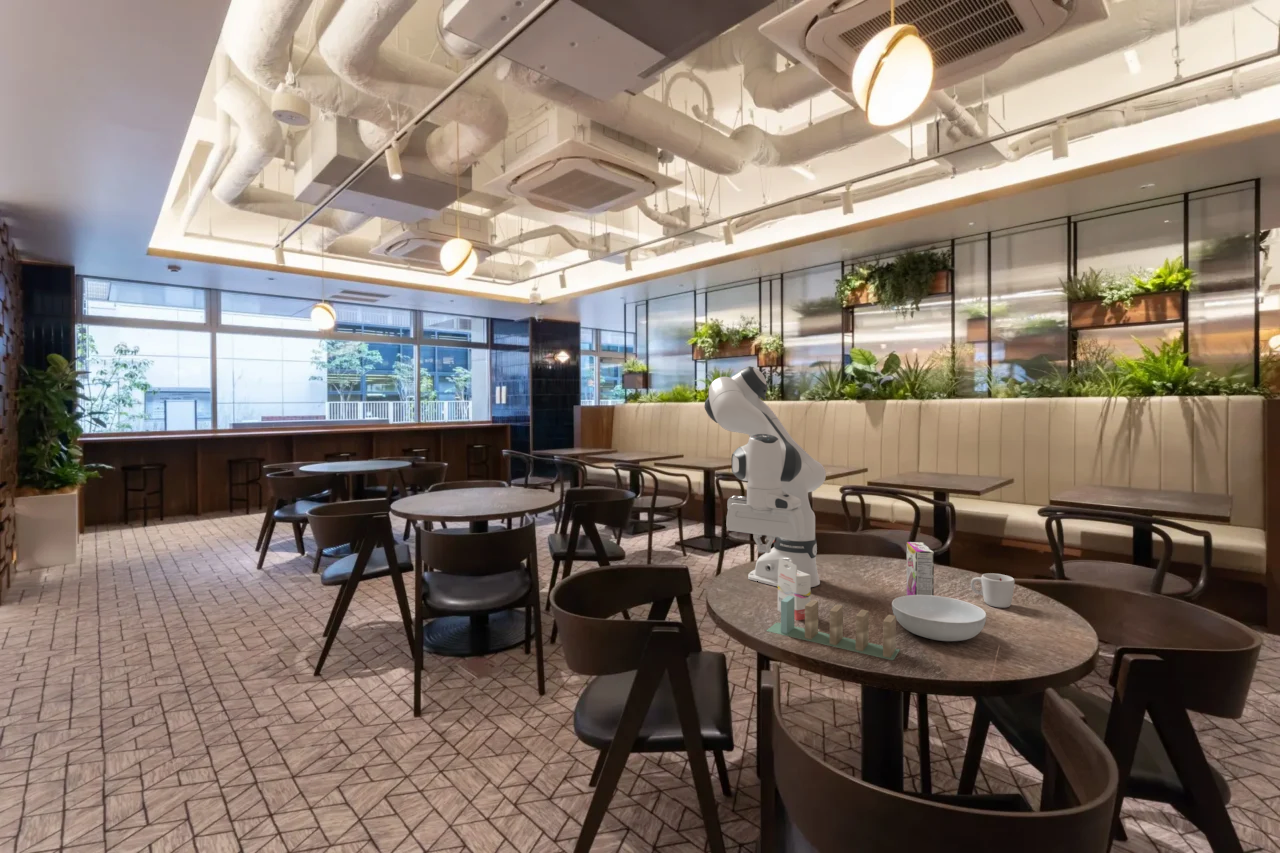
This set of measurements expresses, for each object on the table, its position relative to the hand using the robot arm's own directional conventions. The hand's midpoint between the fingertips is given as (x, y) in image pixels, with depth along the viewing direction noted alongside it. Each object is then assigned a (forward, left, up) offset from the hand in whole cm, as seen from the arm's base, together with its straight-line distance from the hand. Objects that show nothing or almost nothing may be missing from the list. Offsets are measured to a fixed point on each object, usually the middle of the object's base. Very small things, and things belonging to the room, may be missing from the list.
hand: (764, 552), depth 152 cm
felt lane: (+17, 0, -19) cm, 26 cm away
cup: (+46, +52, -19) cm, 72 cm away
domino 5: (+30, 0, -19) cm, 36 cm away
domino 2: (+12, 0, -19) cm, 23 cm away
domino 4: (+24, 0, -19) cm, 31 cm away
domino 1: (+6, 0, -19) cm, 20 cm away
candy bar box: (+29, +41, -19) cm, 54 cm away
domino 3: (+18, 0, -19) cm, 26 cm away
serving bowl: (+37, +19, -19) cm, 46 cm away
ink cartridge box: (+3, +12, -19) cm, 23 cm away
